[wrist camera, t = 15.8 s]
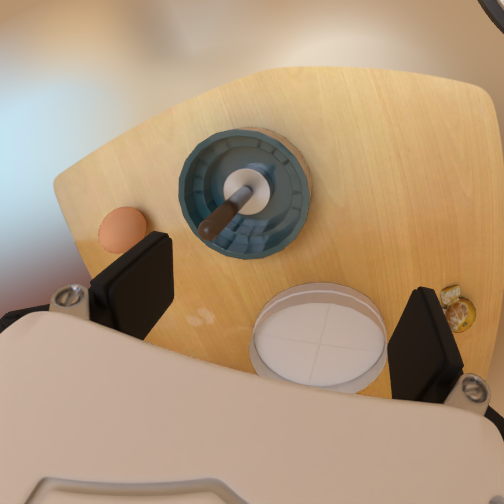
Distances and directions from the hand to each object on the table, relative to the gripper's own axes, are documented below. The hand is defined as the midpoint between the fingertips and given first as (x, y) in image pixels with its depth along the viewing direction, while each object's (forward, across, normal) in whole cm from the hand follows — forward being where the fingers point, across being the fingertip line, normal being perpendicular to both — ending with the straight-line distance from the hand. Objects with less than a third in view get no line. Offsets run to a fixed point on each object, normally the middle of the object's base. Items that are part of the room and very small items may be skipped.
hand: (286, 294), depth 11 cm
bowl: (+29, +8, +4) cm, 30 cm away
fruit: (+29, -26, +16) cm, 42 cm away
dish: (+29, -6, +27) cm, 40 cm away
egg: (+28, +26, +12) cm, 40 cm away
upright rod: (+28, +8, +4) cm, 30 cm away
